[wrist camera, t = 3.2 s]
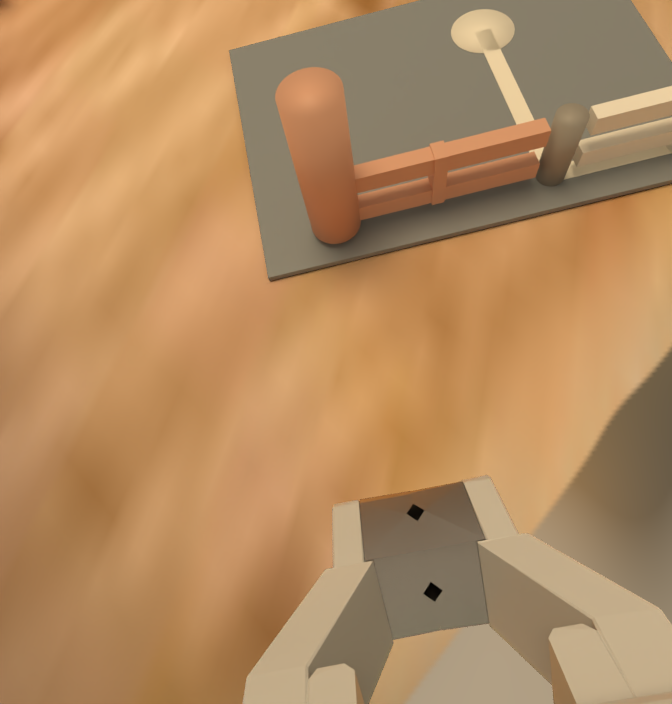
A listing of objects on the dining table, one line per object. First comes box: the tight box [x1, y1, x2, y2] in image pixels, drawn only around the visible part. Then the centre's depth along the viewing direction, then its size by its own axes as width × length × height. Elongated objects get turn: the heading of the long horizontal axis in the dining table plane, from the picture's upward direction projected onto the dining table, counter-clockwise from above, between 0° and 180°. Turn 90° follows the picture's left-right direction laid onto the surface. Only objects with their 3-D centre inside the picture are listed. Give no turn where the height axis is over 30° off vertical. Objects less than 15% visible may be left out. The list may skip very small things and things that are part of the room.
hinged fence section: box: [275, 67, 551, 244], centre depth 28 cm, size 3×14×10 cm, turn 101°
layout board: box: [229, 0, 672, 281], centre depth 36 cm, size 22×30×1 cm
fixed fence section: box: [536, 86, 672, 186], centre depth 29 cm, size 3×12×8 cm, turn 101°
